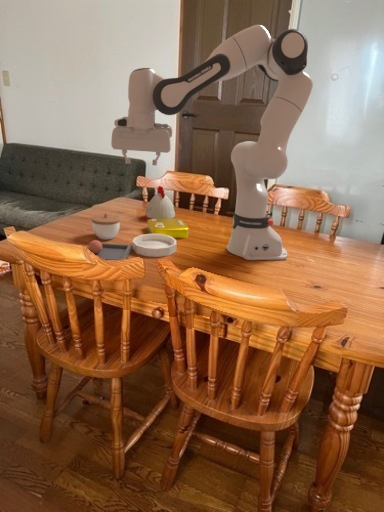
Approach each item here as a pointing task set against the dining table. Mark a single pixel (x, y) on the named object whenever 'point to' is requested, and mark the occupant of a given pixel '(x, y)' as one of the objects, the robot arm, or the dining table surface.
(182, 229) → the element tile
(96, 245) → the ball
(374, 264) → the dining table surface
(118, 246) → the tray
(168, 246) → the white round dish
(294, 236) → the dining table surface
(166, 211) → the white chicken figure
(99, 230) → the lidded jar
